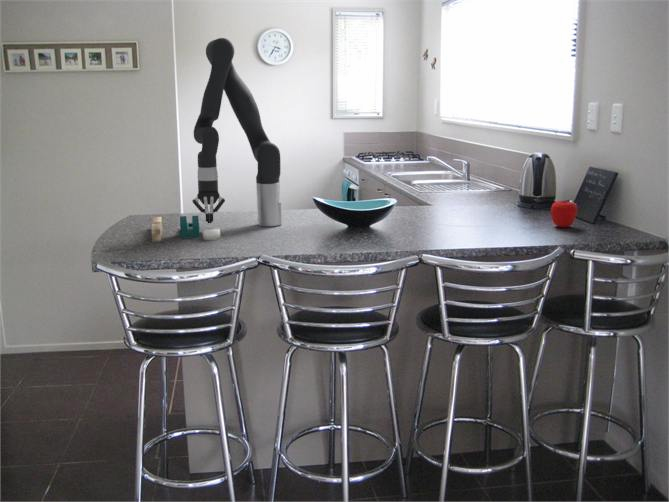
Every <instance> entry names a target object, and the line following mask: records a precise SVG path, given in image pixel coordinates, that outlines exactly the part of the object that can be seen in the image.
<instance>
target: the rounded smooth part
mask: <svg viewBox="0 0 669 502" xmlns="http://www.w3.org/2000/svg"><path fill="white" fill-rule="evenodd" d="M202 239H203V240H204V241H217V240H220V239H221V228H220V227H206V228H203V229H202Z"/></svg>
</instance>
